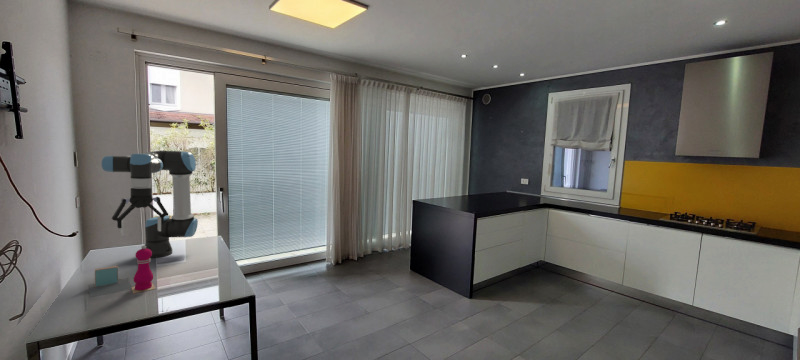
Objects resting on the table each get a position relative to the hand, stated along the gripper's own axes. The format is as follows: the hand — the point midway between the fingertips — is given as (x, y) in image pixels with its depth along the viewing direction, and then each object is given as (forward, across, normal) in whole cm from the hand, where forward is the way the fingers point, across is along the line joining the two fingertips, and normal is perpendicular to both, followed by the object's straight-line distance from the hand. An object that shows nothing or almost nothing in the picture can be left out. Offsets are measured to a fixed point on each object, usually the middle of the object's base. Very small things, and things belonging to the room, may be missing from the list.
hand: (141, 233), depth 148 cm
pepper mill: (+26, 0, +2) cm, 26 cm away
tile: (+26, +10, -14) cm, 32 cm away
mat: (+26, +10, -10) cm, 30 cm away
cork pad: (+26, 0, +2) cm, 26 cm away
